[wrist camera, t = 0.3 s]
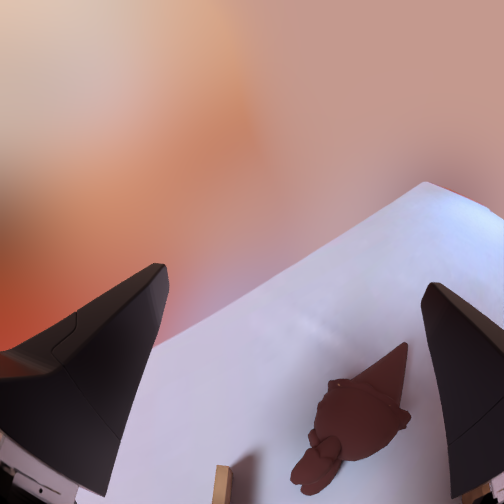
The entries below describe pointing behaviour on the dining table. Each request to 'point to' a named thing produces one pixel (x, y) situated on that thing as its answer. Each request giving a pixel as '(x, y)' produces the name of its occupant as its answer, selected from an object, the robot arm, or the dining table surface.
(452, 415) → the robot arm
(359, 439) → the icecream
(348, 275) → the dining table surface
